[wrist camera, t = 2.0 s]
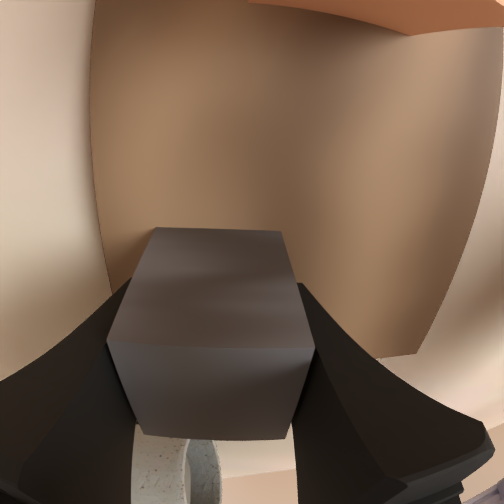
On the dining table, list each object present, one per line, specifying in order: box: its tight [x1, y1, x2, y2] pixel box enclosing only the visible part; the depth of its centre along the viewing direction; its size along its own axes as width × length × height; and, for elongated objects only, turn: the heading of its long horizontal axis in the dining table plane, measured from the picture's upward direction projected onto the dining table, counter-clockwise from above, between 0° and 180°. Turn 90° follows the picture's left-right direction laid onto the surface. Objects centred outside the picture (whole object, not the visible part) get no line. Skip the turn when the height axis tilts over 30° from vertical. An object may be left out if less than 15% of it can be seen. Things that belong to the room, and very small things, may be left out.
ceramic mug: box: [131, 424, 222, 504], centre depth 16 cm, size 11×8×8 cm
